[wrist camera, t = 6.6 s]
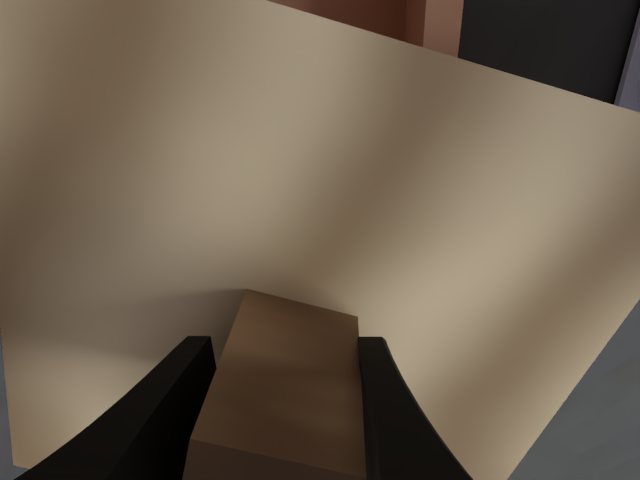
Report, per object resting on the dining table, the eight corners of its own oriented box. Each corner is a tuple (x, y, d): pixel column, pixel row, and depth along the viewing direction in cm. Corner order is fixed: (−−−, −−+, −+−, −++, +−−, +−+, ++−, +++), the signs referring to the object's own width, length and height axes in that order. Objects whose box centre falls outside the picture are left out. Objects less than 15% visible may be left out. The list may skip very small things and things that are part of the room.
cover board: (713, 135, 10) (1104, 242, 5) (443, 529, 17) (486, 739, 12) (1, -79, 8) (-474, -235, 4) (32, 440, 15) (-113, 630, 11)
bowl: (444, -184, 13) (495, -293, 9) (415, 199, 19) (437, 249, 15) (52, -161, 14) (-82, -252, 10) (136, 201, 20) (76, 250, 15)
